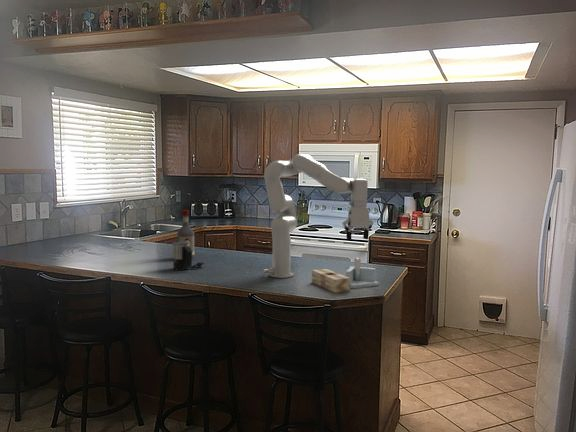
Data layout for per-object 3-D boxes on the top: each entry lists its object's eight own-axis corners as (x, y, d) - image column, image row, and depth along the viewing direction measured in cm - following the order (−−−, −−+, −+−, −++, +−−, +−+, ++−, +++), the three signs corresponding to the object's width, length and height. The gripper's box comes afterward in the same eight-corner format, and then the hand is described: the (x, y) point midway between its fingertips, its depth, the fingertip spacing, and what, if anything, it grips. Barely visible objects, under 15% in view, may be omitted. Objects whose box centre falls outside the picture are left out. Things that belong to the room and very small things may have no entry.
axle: (356, 281, 233) (356, 259, 232) (352, 280, 236) (353, 258, 234) (361, 280, 234) (361, 258, 233) (357, 279, 237) (358, 257, 236)
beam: (334, 292, 217) (335, 279, 217) (312, 282, 237) (312, 270, 237) (349, 290, 221) (349, 278, 220) (326, 280, 241) (326, 268, 240)
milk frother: (169, 269, 263) (168, 243, 262) (188, 264, 277) (187, 239, 275) (189, 272, 256) (188, 245, 255) (207, 267, 270) (207, 241, 269)
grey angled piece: (350, 288, 225) (351, 273, 224) (336, 282, 236) (336, 267, 236) (380, 285, 232) (380, 270, 231) (365, 279, 244) (365, 265, 243)
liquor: (177, 258, 297) (176, 209, 294) (191, 257, 301) (191, 209, 298) (180, 260, 289) (179, 211, 285) (195, 259, 292) (194, 210, 289)
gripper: (347, 205, 224) (346, 241, 226) (378, 204, 231) (376, 239, 233) (339, 203, 231) (338, 238, 233) (369, 203, 238) (367, 237, 240)
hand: (357, 239), depth 233 cm, fingers open, 9 cm apart
